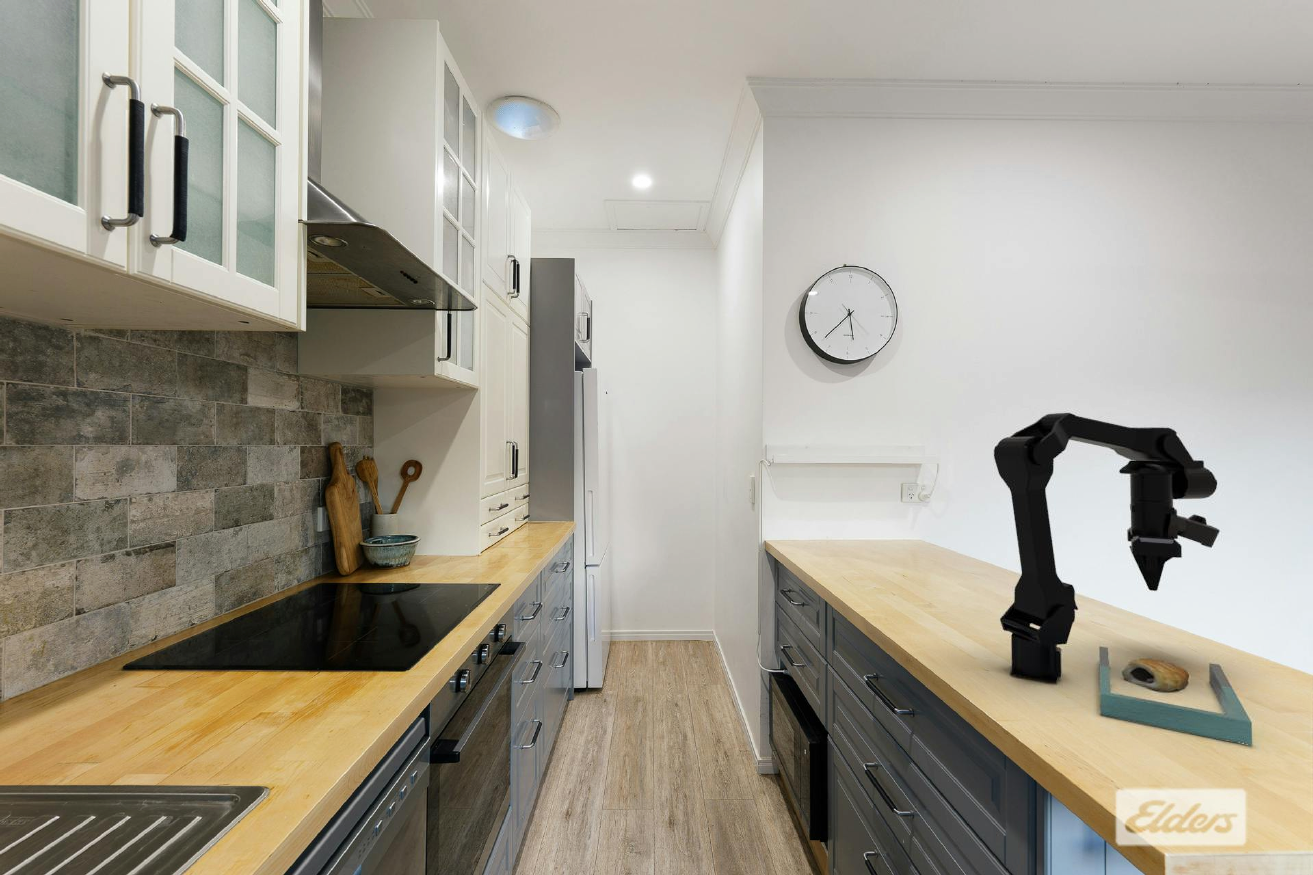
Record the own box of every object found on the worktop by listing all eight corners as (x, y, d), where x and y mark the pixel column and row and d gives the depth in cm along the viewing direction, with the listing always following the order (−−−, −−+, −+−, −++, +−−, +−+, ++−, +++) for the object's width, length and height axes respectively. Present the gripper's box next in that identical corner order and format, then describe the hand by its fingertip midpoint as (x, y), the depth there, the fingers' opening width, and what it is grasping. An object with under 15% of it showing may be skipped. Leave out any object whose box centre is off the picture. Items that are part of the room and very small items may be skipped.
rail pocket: (1100, 714, 85) (1100, 693, 85) (1099, 663, 105) (1099, 646, 105) (1252, 746, 76) (1251, 722, 76) (1219, 683, 96) (1219, 664, 96)
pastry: (1155, 671, 101) (1155, 649, 101) (1203, 687, 95) (1203, 662, 95) (1118, 680, 98) (1118, 656, 98) (1165, 696, 92) (1165, 671, 92)
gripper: (1224, 507, 92) (1226, 609, 92) (1205, 498, 108) (1207, 585, 107) (1131, 503, 99) (1133, 599, 99) (1126, 495, 114) (1127, 578, 114)
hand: (1152, 590), depth 104 cm, fingers closed
